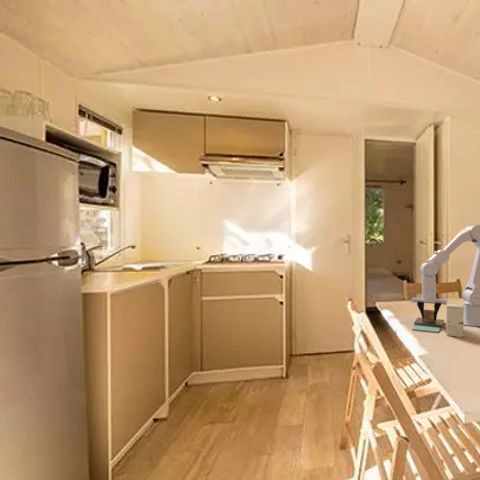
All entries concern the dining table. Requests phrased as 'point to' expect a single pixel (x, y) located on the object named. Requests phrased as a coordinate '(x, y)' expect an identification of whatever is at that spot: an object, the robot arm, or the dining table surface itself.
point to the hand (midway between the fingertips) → (429, 319)
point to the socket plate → (429, 323)
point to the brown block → (429, 316)
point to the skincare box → (455, 320)
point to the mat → (426, 329)
